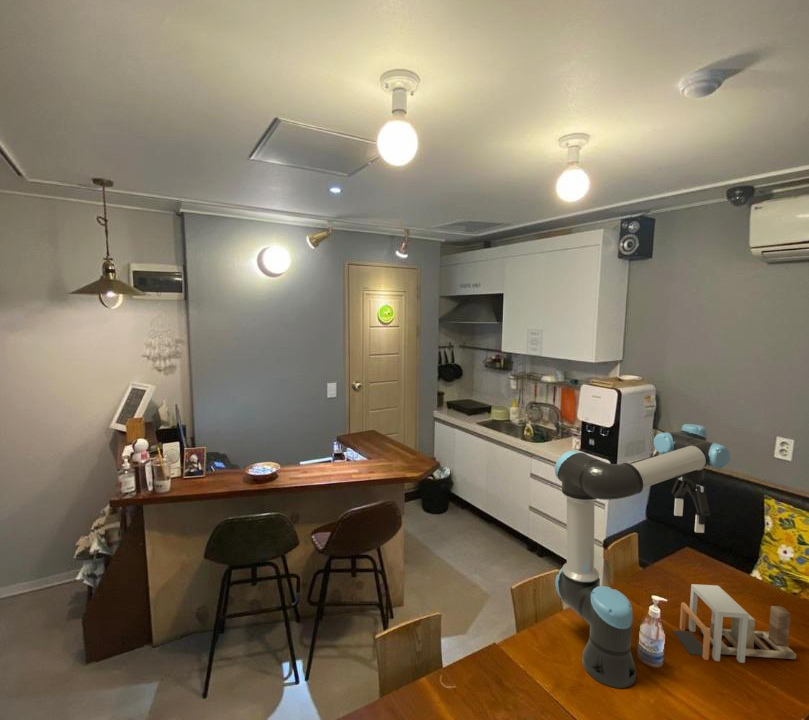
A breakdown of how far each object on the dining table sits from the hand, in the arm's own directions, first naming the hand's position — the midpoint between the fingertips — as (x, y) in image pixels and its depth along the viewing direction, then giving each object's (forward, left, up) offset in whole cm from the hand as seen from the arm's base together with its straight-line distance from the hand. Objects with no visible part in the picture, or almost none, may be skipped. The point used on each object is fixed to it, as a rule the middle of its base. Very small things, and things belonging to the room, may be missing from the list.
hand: (688, 523), depth 160 cm
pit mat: (-6, -16, -35) cm, 39 cm away
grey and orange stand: (0, -16, -35) cm, 38 cm away
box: (+10, -16, -35) cm, 40 cm away
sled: (+12, -16, -35) cm, 40 cm away
